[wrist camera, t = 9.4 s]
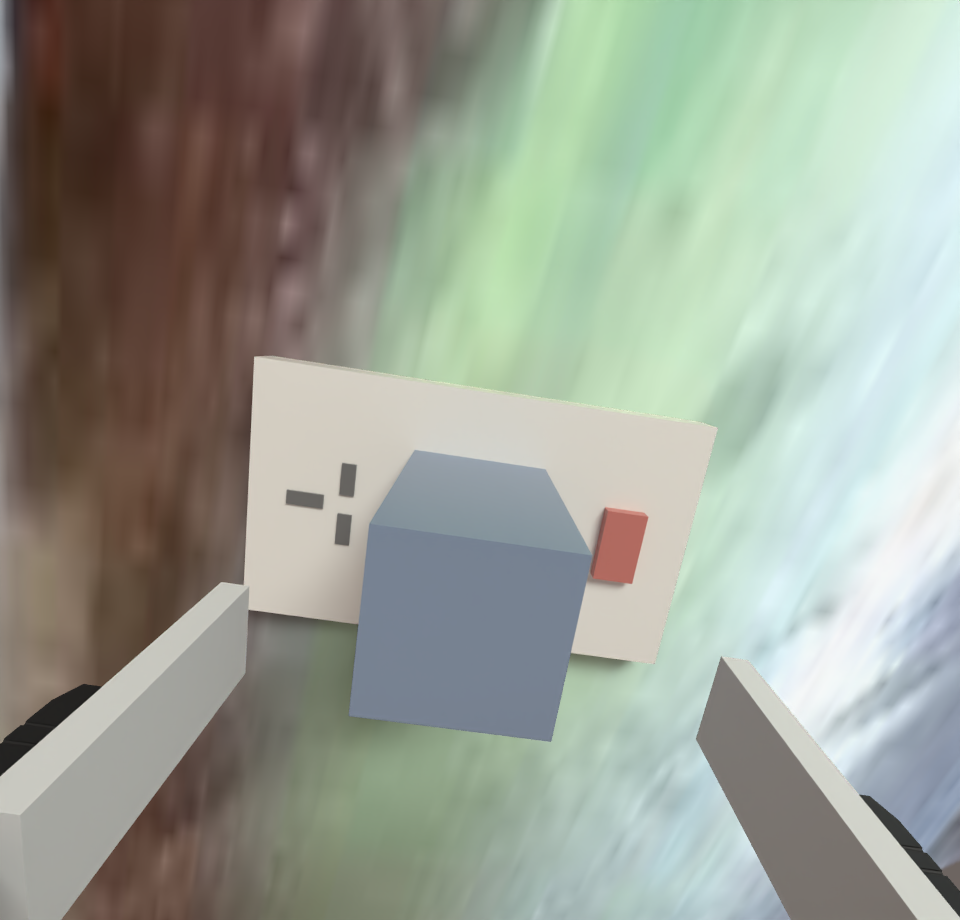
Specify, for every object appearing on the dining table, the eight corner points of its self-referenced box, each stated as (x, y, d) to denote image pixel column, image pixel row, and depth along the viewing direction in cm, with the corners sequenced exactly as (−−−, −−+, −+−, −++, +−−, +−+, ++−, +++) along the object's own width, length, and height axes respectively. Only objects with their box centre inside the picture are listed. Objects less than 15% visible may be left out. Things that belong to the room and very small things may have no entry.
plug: (540, 459, 26) (592, 555, 14) (519, 570, 27) (550, 741, 15) (419, 441, 25) (368, 523, 14) (405, 554, 27) (348, 715, 15)
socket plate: (699, 421, 25) (724, 429, 23) (642, 642, 28) (658, 671, 26) (272, 355, 24) (248, 356, 22) (259, 589, 27) (237, 615, 25)
